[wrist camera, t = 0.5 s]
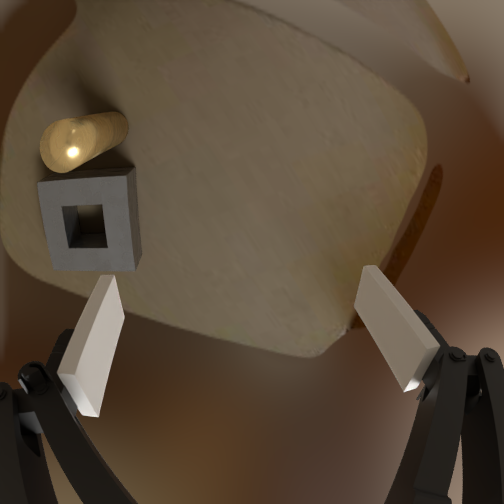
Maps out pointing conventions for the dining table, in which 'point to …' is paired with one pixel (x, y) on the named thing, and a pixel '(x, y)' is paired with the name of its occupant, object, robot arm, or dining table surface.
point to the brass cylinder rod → (81, 139)
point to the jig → (115, 218)
